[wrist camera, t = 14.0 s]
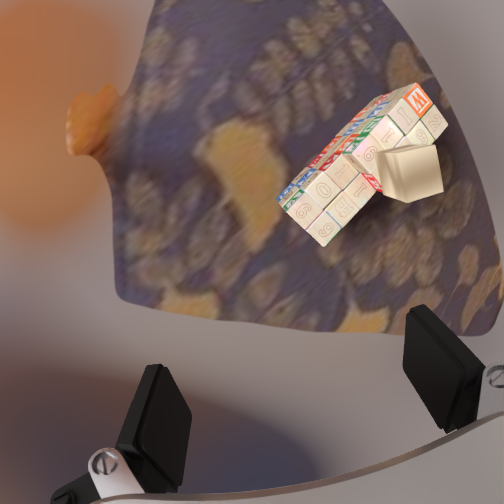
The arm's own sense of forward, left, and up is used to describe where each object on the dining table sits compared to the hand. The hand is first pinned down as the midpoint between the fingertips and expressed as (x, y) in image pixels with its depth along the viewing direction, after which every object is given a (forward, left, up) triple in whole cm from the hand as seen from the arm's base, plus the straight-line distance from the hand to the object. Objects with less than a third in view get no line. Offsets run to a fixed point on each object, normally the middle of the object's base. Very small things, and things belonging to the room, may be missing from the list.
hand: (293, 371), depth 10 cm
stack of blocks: (-5, +13, -32) cm, 35 cm away
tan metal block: (-4, +15, -20) cm, 25 cm away
